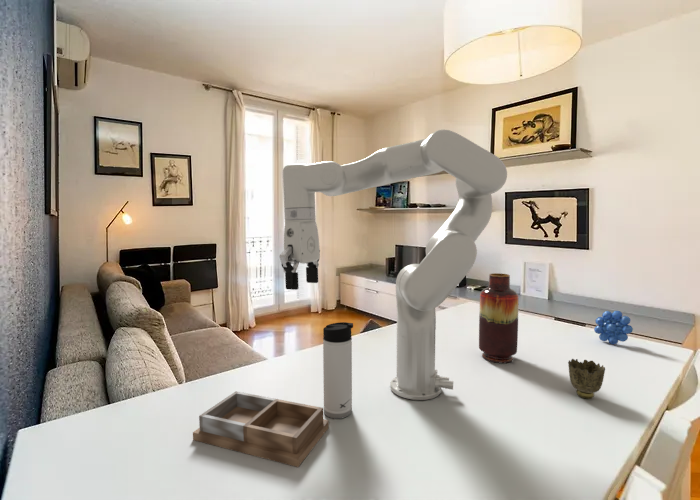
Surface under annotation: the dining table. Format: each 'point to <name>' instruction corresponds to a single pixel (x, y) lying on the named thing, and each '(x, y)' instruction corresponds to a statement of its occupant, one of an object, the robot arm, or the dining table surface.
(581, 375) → the cup
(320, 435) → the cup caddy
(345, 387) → the travel mug
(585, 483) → the dining table surface
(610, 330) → the grapes
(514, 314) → the vase
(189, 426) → the dining table surface
